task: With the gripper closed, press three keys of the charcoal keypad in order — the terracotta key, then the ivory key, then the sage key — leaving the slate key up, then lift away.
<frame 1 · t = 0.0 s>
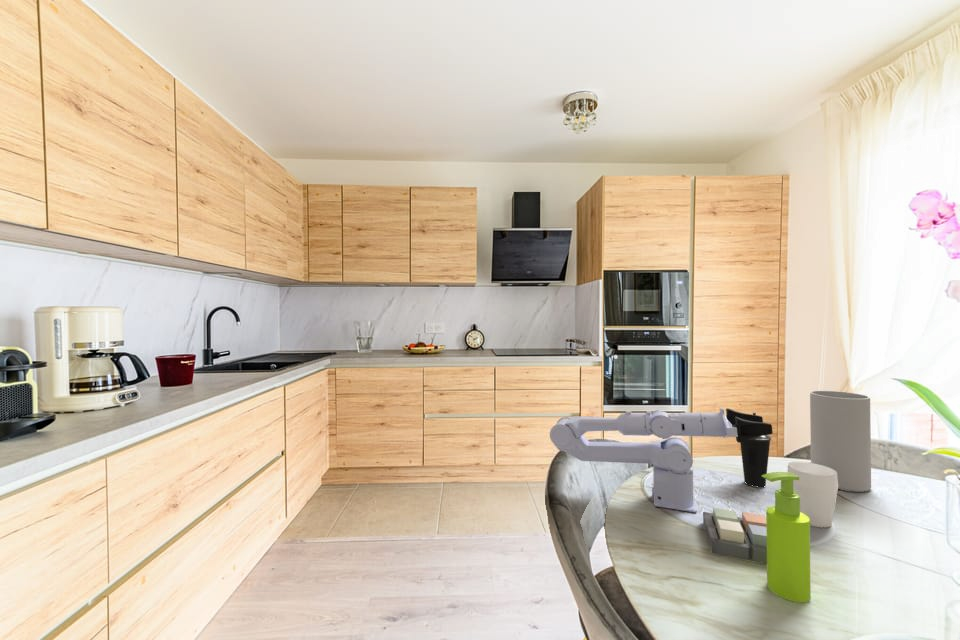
hand: (767, 424, 93), 22 cm above the table, tool horizontal, fingers open, 7 cm apart
sage key: (725, 519, 86), point 3 cm above the table, slide at 0.0 cm
soap dispenser: (785, 591, 68), on the table
ivory key: (730, 531, 81), point 3 cm above the table, slide at 0.0 cm
cylinder vase: (840, 484, 111), on the table
slate key: (762, 537, 79), point 3 cm above the table, slide at 0.0 cm
drinking cup: (755, 484, 112), on the table
keypad: (743, 543, 82), on the table
cup: (812, 521, 91), on the table
terracotta key: (755, 523, 84), point 3 cm above the table, slide at 0.0 cm
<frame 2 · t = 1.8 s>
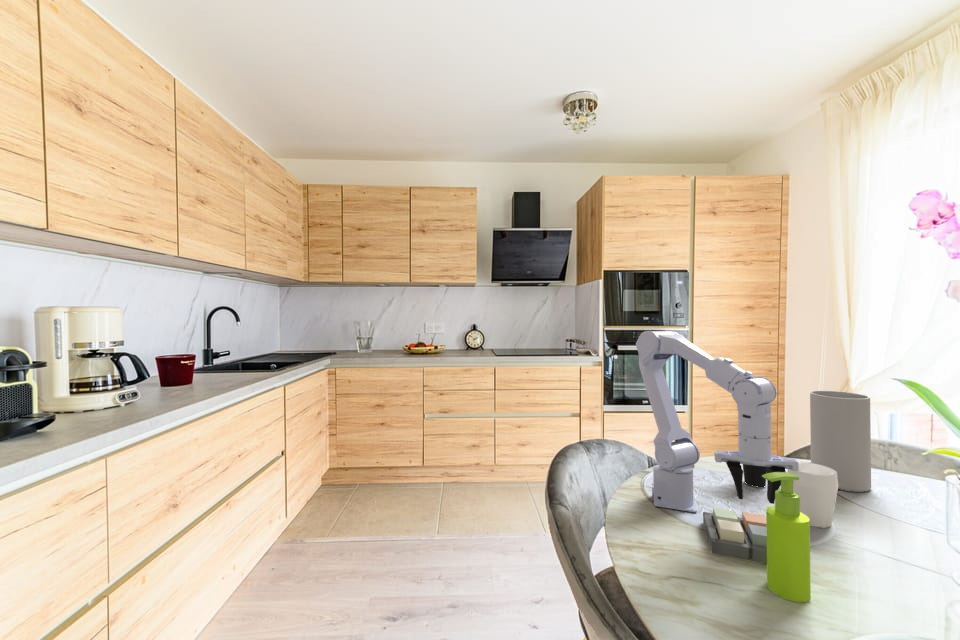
hand: (755, 499, 84), 8 cm above the table, tool pointing down, fingers open, 5 cm apart
nothing on the table moved.
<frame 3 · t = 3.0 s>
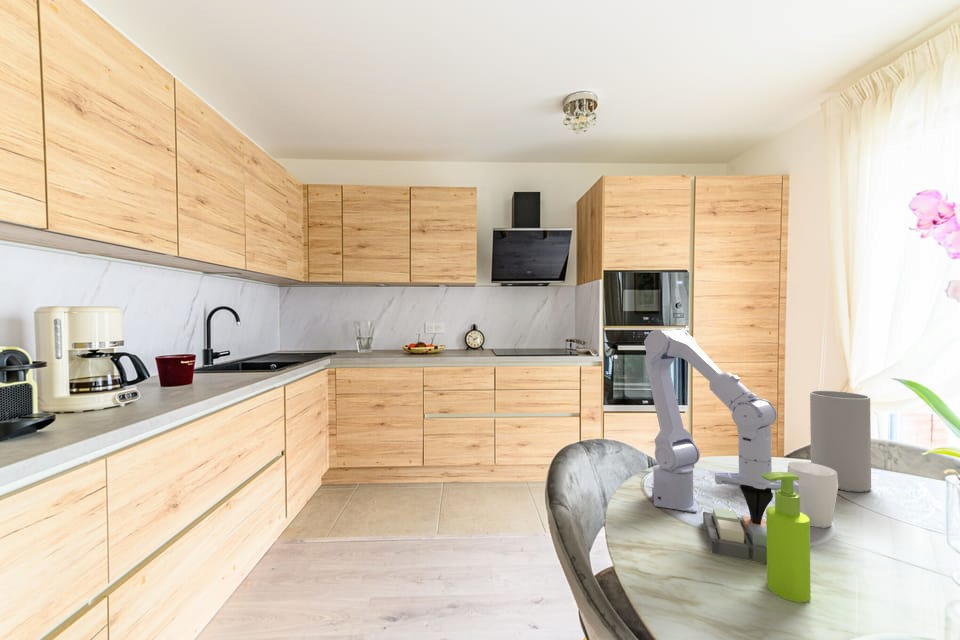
hand: (755, 522, 84), 4 cm above the table, tool pointing down, fingers closed, pressing on terracotta key
terracotta key: (755, 527, 84), point 2 cm above the table, slide at 0.8 cm, touching gripper
everything else where it was.
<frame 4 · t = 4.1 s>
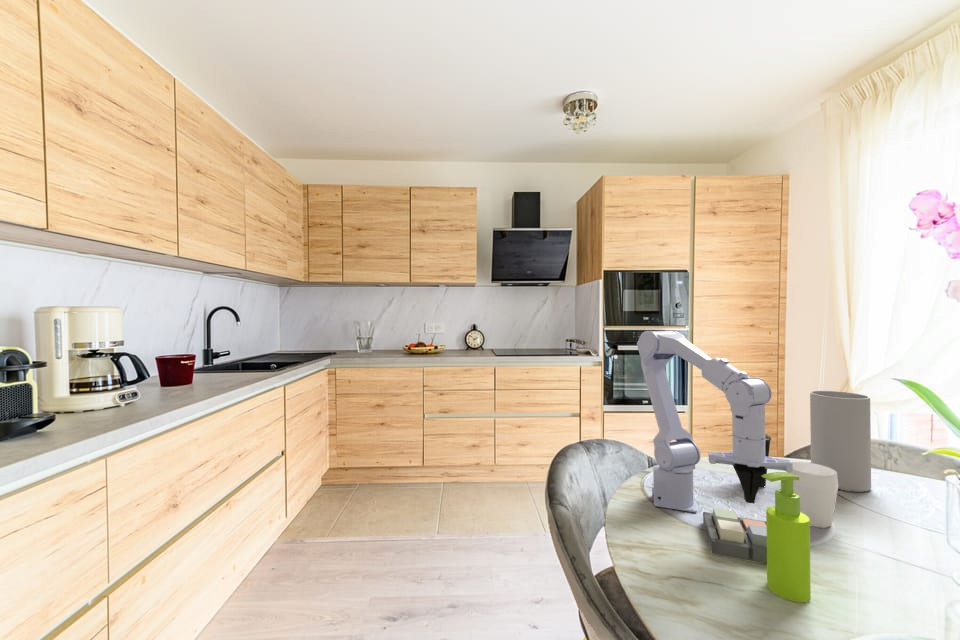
hand: (749, 501, 83), 8 cm above the table, tool pointing down, fingers closed
terracotta key: (755, 530, 84), point 2 cm above the table, slide at 1.4 cm
everything else where it was.
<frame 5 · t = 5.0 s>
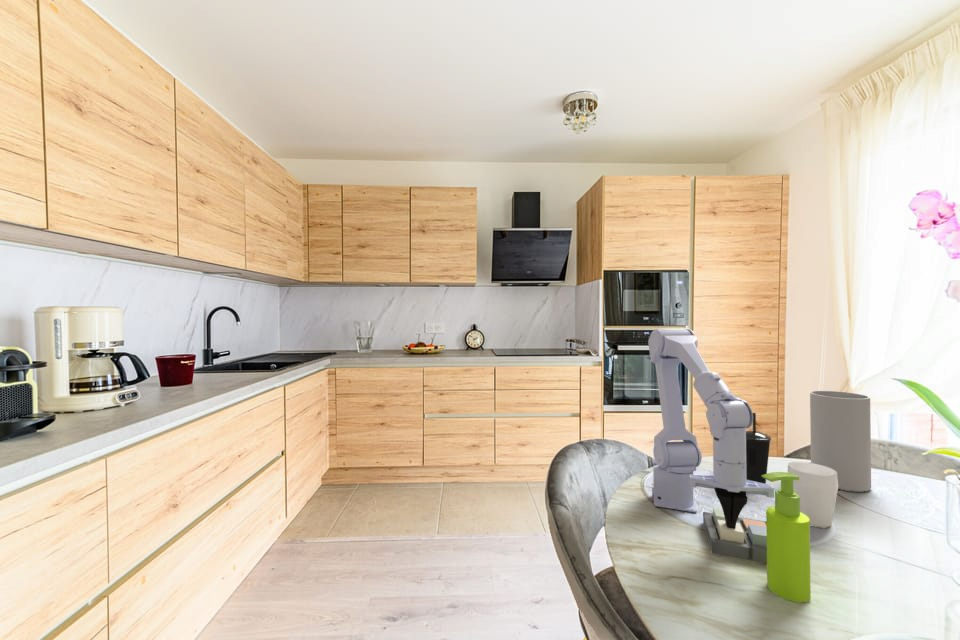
hand: (730, 526, 81), 4 cm above the table, tool pointing down, fingers closed, pressing on ivory key
ivory key: (730, 531, 81), point 3 cm above the table, slide at 0.1 cm, touching gripper
everything else where it was.
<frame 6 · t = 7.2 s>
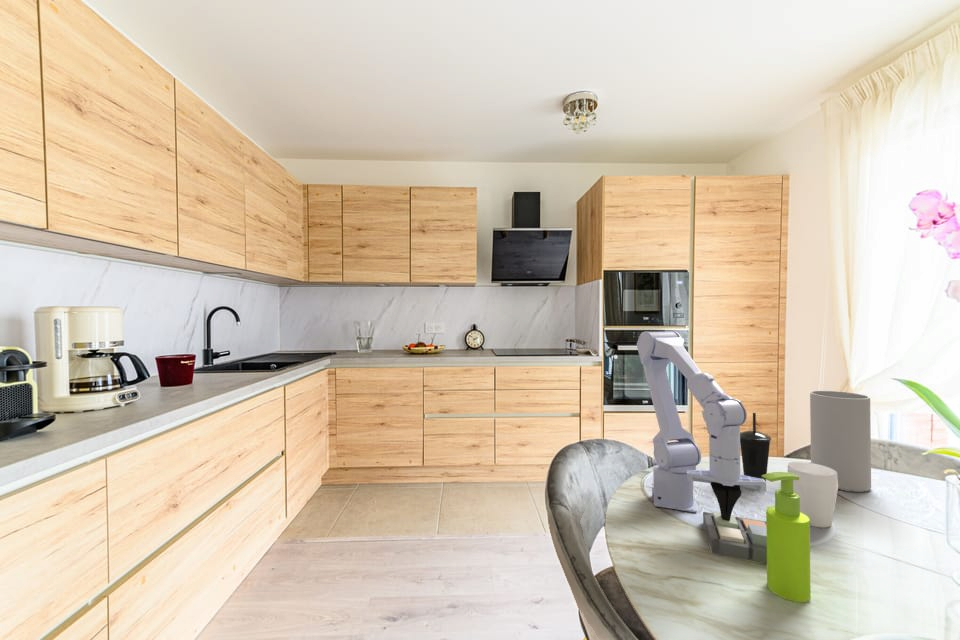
hand: (725, 518, 86), 3 cm above the table, tool pointing down, fingers closed, pressing on sage key
sage key: (725, 523, 86), point 2 cm above the table, slide at 1.0 cm, touching gripper
ivory key: (730, 538, 81), point 2 cm above the table, slide at 1.4 cm
everything else where it was.
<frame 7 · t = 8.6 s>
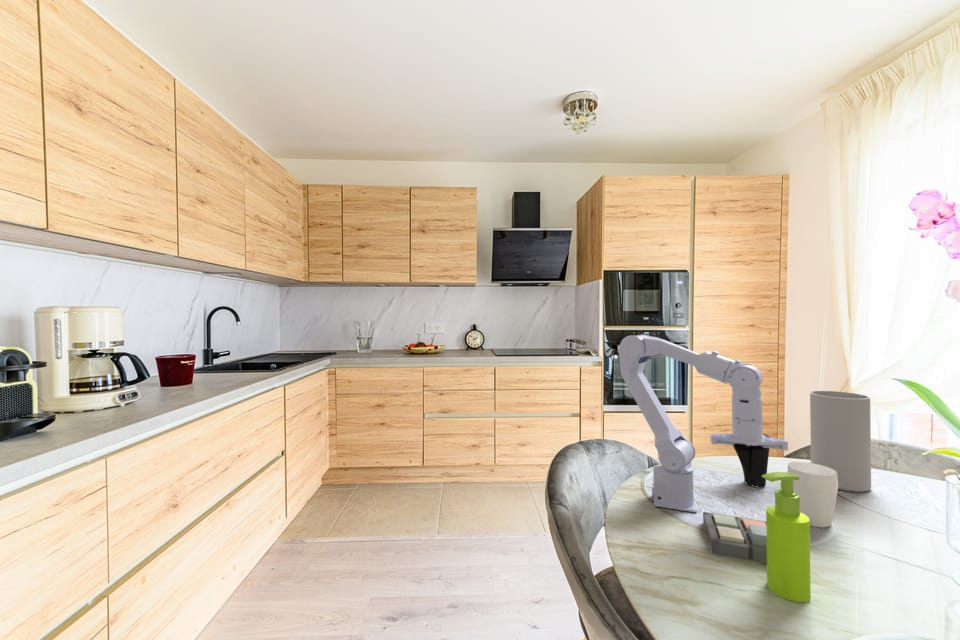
hand: (748, 478, 90), 10 cm above the table, tool pointing down, fingers closed
sage key: (725, 525, 86), point 2 cm above the table, slide at 1.4 cm
everything else where it was.
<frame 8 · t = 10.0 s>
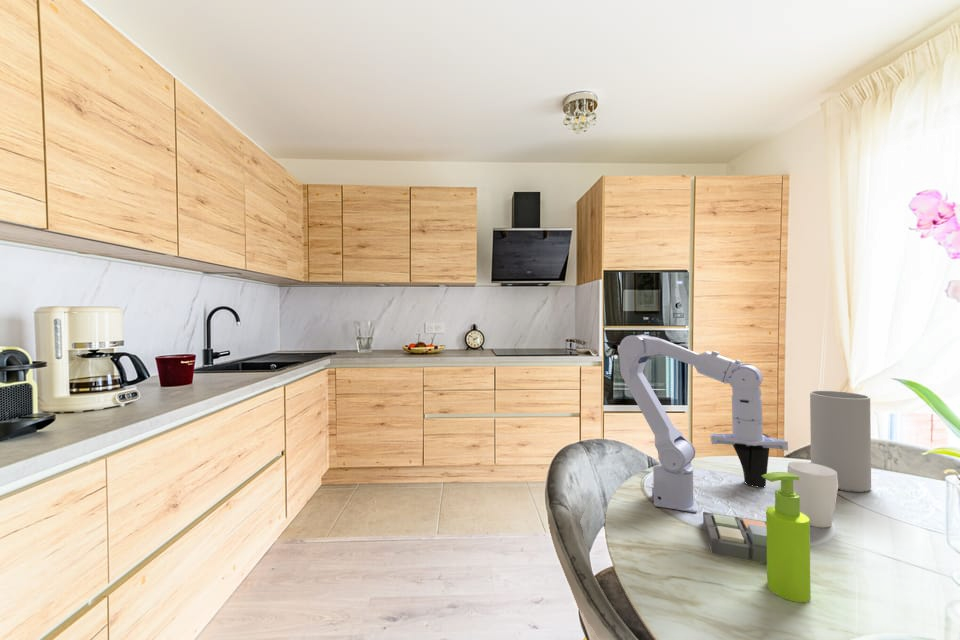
hand: (748, 478, 90), 10 cm above the table, tool pointing down, fingers closed
nothing on the table moved.
at the end: terracotta key slide at 1.4 cm; ivory key slide at 1.4 cm; sage key slide at 1.4 cm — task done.
